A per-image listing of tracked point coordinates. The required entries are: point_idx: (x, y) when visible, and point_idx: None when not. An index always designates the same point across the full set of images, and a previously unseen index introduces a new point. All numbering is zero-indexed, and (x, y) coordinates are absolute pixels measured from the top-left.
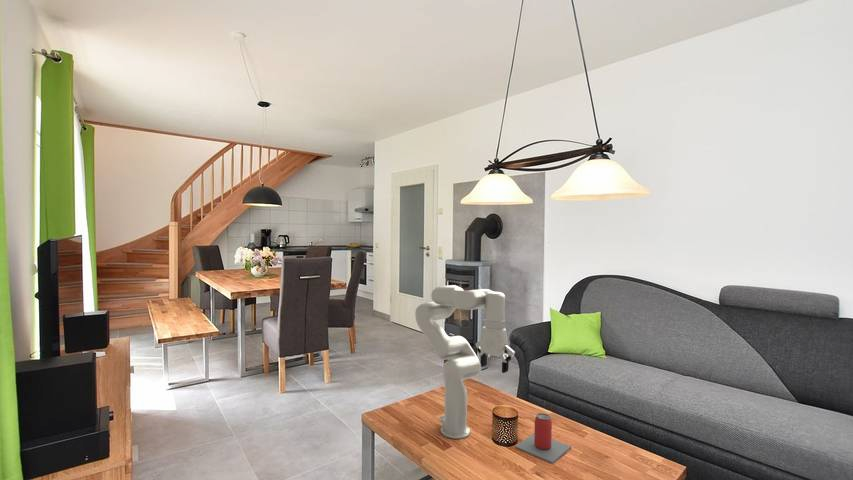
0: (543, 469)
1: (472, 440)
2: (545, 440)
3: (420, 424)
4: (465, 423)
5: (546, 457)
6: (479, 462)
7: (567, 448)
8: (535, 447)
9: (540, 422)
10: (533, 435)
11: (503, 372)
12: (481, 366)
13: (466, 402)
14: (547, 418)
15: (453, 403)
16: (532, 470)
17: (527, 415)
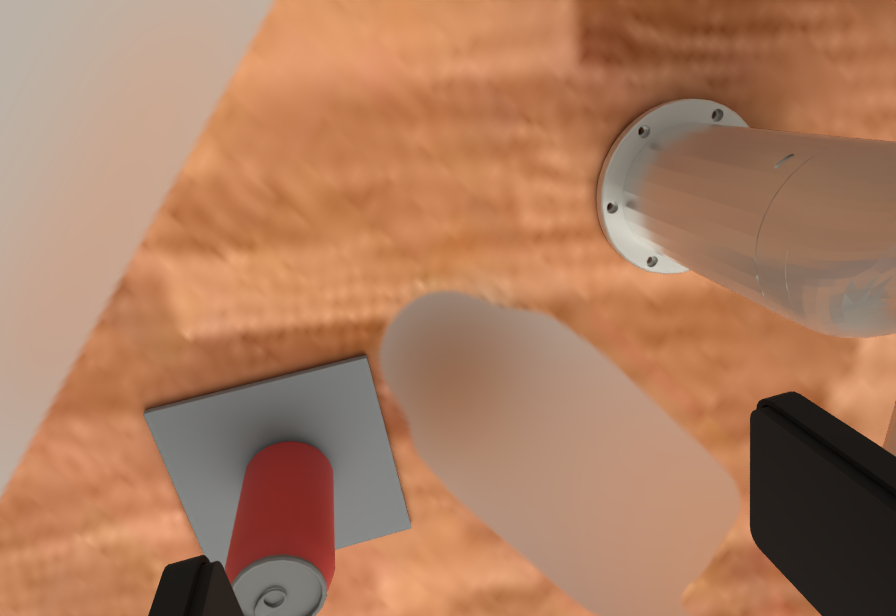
0: (124, 334)
1: (552, 209)
2: (244, 489)
3: (865, 65)
4: (650, 228)
5: (193, 417)
6: (356, 80)
7: (209, 555)
8: (299, 436)
9: (258, 541)
10: (393, 502)
11: (167, 571)
12: (774, 396)
13: (734, 277)
14: (247, 601)
15: (782, 158)
16: (144, 279)
17: (557, 602)
